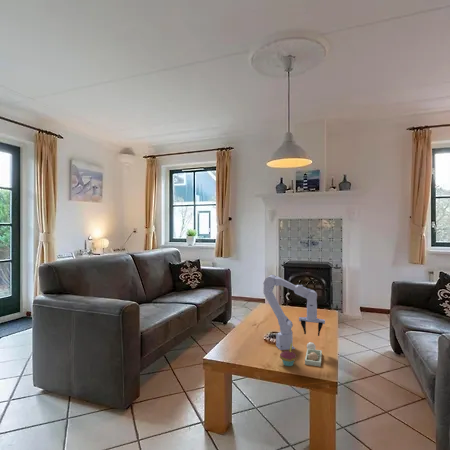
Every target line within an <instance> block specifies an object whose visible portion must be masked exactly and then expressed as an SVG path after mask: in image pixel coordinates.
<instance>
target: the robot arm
mask: <svg viewBox="0 0 450 450" xmlns="http://www.w3.org/2000/svg"><path fill="white" fill-rule="evenodd" d="M280 286H282V287H284V288H287V289H289V290H291V291H293V292H294V294H295V295H297V296H300V297H302V298H304V299H306V316H305V317H301V316H299V317H298V322H300V325H301V327H302V329H303V330H302V331H303V334H304V335H306V334H307V329H306V328H307V327H306V325H307V323H315V324H317V337H320V333H321V330H322V328H323V325H325V323H326V319H322V318H318V302H317V300H318V293H317V291H315V290H314V289H311V288H307V287H305V286H304V285H303V284H294V283H292V282H290V281H288V280H286V279H284V278H282V277H281V276H278V275H275V274H270V275H268V276H267V277H266V278H265V279H264V281H263V295H264V297H265V298H266V300H267V302H268V304H269V306H270V308H271V310H272V311H273V313H274V315H275V317H276V319H277V322H278V326H279V332H277V333H276V334H275V346H276V348H278V350H280V351H287V350H290V346H291V343H292V348H291V350H295V349H296V347H294V346H293V343H294V342H293V339H294V337H293V335H294V334H293V333H294V332H293V330H292V328H293V326H294V325H293V322H292V320H290V319H289V318H288V316H287V315H286V313H284V310H283V309H282V306H281V305H280V303H279V301H278V299H277V298H276V296H275V294H274V292H273V290H274V287H280Z"/></svg>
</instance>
